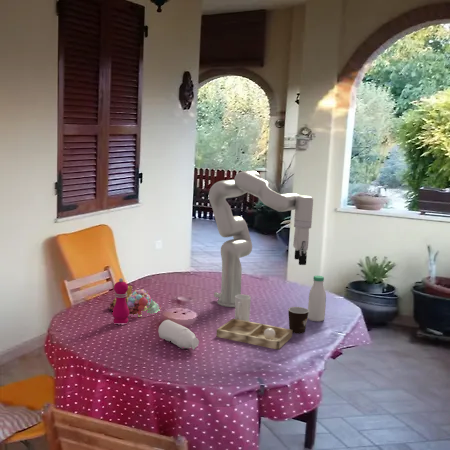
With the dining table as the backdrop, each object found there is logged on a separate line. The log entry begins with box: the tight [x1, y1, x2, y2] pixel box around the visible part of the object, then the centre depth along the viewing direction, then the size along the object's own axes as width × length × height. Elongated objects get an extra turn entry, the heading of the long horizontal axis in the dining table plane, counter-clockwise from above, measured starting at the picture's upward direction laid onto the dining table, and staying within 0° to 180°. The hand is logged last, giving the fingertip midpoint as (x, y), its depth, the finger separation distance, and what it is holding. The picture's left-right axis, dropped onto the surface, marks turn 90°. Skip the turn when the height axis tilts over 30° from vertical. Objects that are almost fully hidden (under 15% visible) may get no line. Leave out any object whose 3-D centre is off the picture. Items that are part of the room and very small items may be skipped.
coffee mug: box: [287, 306, 309, 335], centre depth 251 cm, size 12×9×10 cm
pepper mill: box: [111, 277, 129, 324], centre depth 253 cm, size 7×7×20 cm
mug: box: [234, 293, 252, 322], centre depth 258 cm, size 10×7×12 cm, turn 158°
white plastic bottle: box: [157, 319, 200, 350], centre depth 231 cm, size 8×19×8 cm, turn 42°
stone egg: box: [264, 328, 276, 340], centre depth 239 cm, size 5×5×5 cm
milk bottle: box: [307, 275, 327, 322], centre depth 267 cm, size 8×8×20 cm
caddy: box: [216, 317, 293, 351], centre depth 242 cm, size 27×16×4 cm, turn 65°
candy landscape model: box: [108, 285, 163, 317], centre depth 274 cm, size 25×24×9 cm
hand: (300, 261), depth 260 cm, fingers open, 9 cm apart
